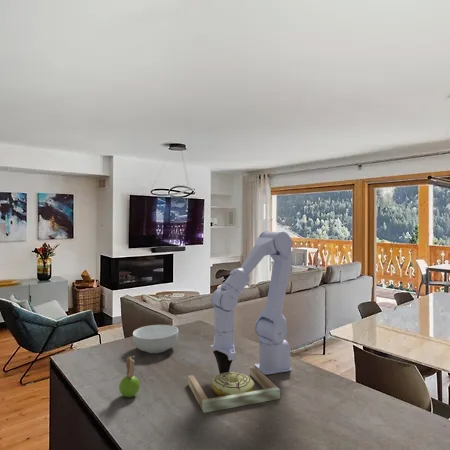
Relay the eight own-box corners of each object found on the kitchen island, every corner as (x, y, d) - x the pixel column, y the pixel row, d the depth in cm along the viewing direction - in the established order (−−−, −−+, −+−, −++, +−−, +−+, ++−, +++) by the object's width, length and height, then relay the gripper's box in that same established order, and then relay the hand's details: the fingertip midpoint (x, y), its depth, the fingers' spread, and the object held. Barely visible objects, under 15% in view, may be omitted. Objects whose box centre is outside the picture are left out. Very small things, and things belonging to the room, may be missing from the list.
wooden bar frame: (254, 374, 111) (254, 366, 111) (279, 398, 95) (279, 389, 95) (188, 384, 104) (188, 375, 104) (203, 412, 88) (203, 402, 88)
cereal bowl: (142, 341, 142) (142, 323, 142) (183, 343, 140) (183, 325, 140) (125, 357, 125) (124, 337, 125) (171, 359, 123) (171, 339, 123)
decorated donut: (240, 407, 92) (240, 391, 92) (203, 395, 98) (203, 380, 98) (261, 389, 101) (261, 375, 101) (226, 379, 108) (226, 366, 107)
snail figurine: (122, 404, 93) (122, 358, 93) (117, 394, 98) (117, 350, 98) (143, 399, 95) (143, 354, 95) (137, 389, 101) (137, 347, 101)
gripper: (204, 324, 112) (204, 368, 112) (218, 338, 98) (218, 388, 98) (225, 322, 114) (225, 365, 114) (242, 336, 100) (242, 384, 100)
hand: (224, 375), depth 106 cm, fingers closed
